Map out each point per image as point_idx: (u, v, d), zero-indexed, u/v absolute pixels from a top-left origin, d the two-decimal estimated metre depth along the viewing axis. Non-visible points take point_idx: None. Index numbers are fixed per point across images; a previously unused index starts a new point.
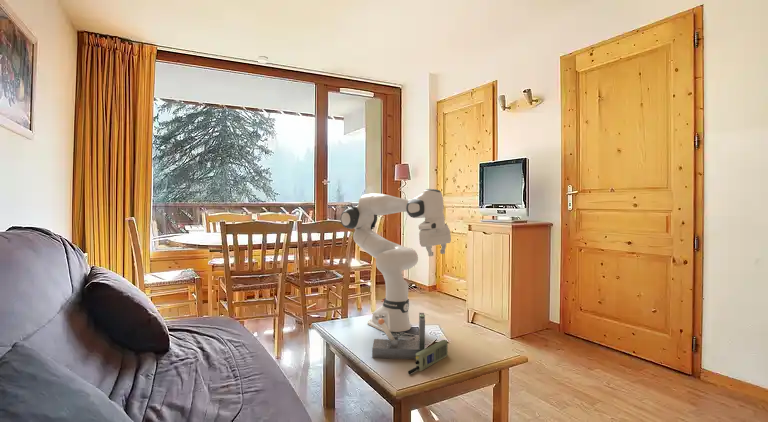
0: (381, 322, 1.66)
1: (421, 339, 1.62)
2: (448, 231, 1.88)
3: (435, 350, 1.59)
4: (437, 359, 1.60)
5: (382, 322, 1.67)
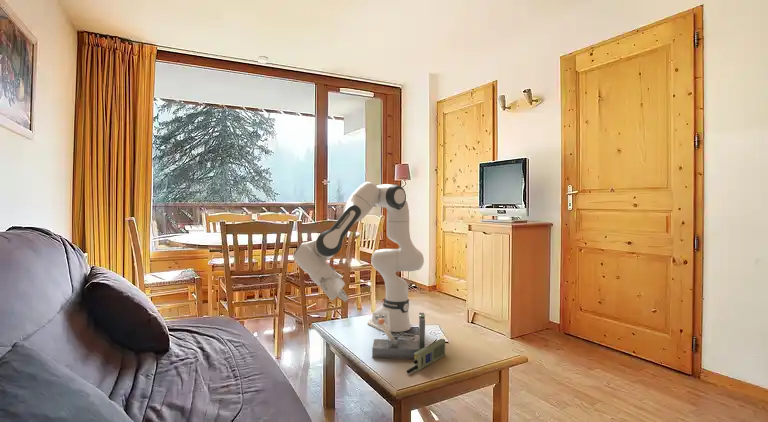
0: (381, 322, 1.66)
1: (421, 339, 1.62)
2: None
3: (433, 349, 1.60)
4: (435, 358, 1.61)
5: (382, 322, 1.67)
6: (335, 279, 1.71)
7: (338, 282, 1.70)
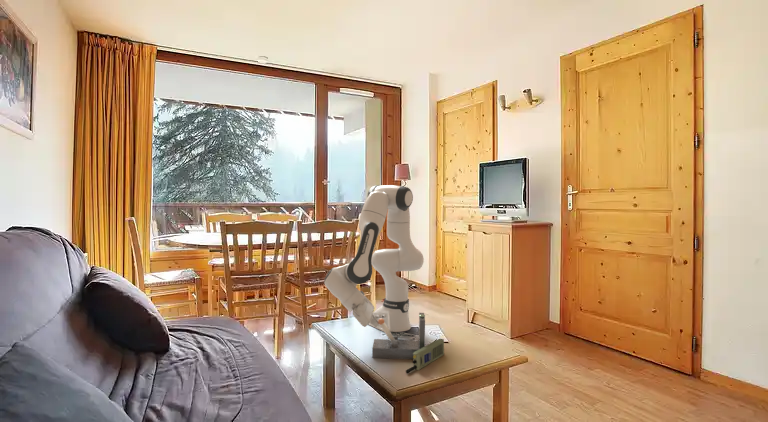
0: (381, 322, 1.66)
1: (421, 339, 1.62)
2: None
3: (432, 349, 1.60)
4: (434, 358, 1.61)
5: (382, 322, 1.67)
6: (365, 304, 1.71)
7: (368, 307, 1.70)
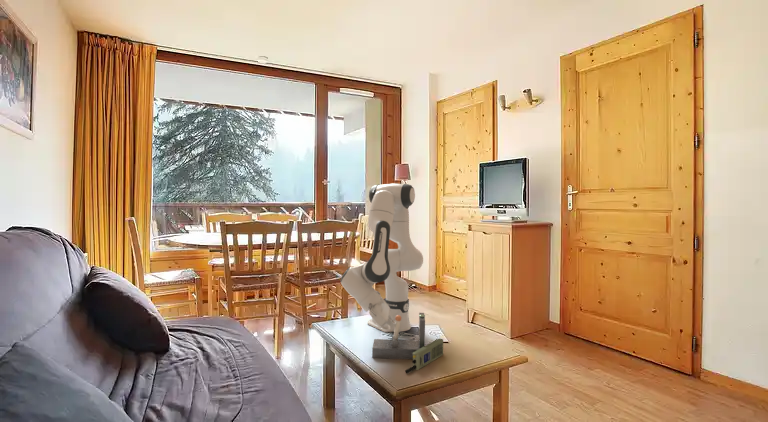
0: (398, 319, 1.66)
1: (421, 339, 1.62)
2: None
3: (431, 349, 1.60)
4: (433, 358, 1.62)
5: (399, 320, 1.66)
6: (381, 304, 1.71)
7: (384, 307, 1.70)
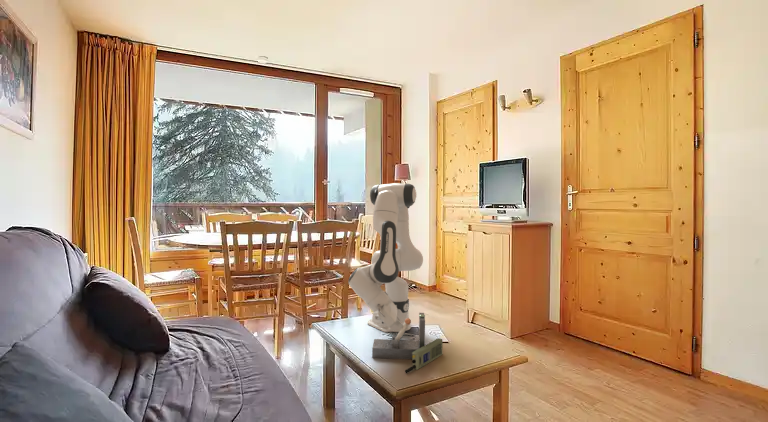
0: (408, 322, 1.66)
1: (421, 339, 1.62)
2: None
3: (431, 349, 1.60)
4: (432, 358, 1.62)
5: (408, 323, 1.66)
6: (389, 304, 1.71)
7: (392, 307, 1.70)
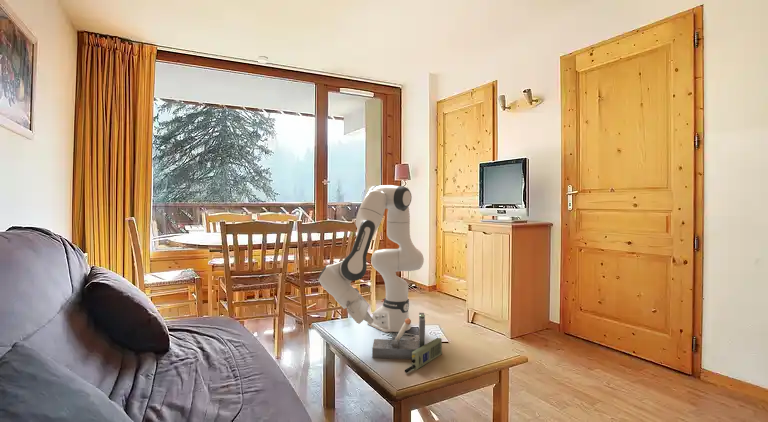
0: (408, 322, 1.66)
1: (421, 339, 1.62)
2: None
3: (430, 348, 1.61)
4: (432, 357, 1.62)
5: (408, 323, 1.66)
6: (360, 301, 1.71)
7: (363, 304, 1.70)
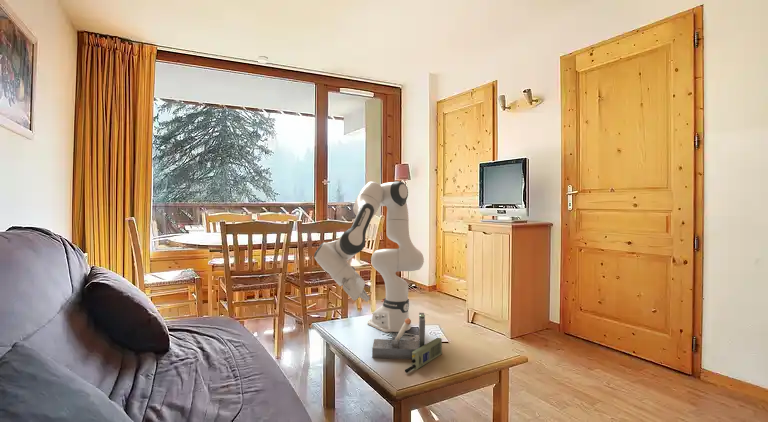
0: (408, 322, 1.66)
1: (421, 339, 1.62)
2: None
3: (430, 348, 1.61)
4: (432, 357, 1.62)
5: (408, 323, 1.66)
6: (356, 279, 1.71)
7: (359, 282, 1.70)
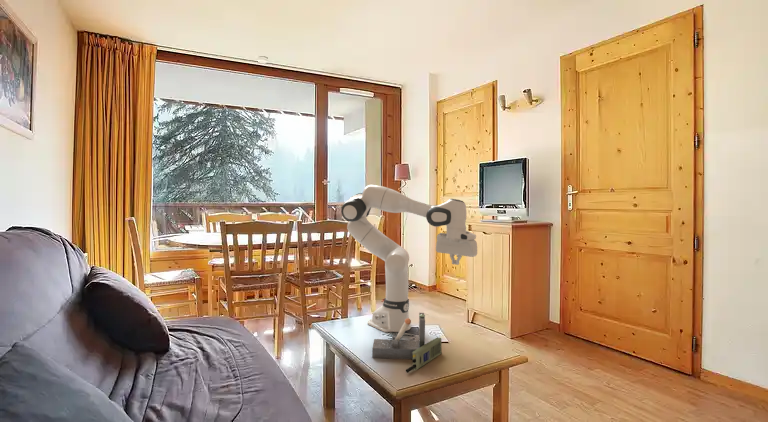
0: (408, 322, 1.66)
1: (421, 339, 1.62)
2: None
3: (430, 348, 1.61)
4: (432, 357, 1.62)
5: (408, 323, 1.66)
6: (461, 245, 1.82)
7: (458, 248, 1.83)
